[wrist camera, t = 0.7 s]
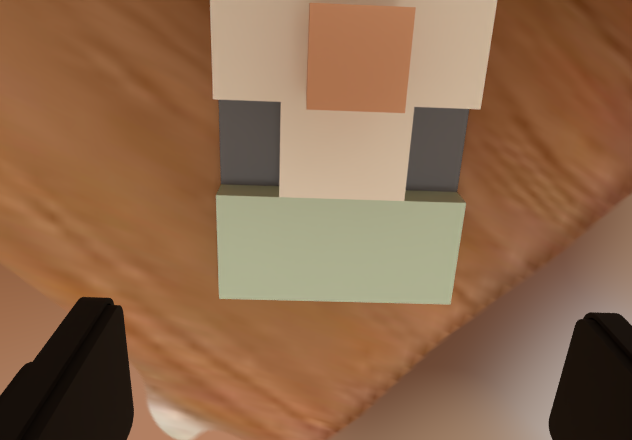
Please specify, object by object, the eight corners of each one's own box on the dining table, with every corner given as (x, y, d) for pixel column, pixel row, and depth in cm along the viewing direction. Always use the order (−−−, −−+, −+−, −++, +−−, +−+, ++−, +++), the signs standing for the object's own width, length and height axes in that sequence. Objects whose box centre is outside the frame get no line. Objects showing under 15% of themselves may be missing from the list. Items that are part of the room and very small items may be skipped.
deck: (216, -19, 32) (209, -21, 29) (484, -7, 32) (498, -8, 30) (224, 281, 39) (219, 298, 37) (441, 286, 39) (450, 304, 37)
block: (309, 3, 30) (310, 2, 25) (398, 7, 30) (415, 7, 25) (306, 94, 32) (306, 109, 27) (390, 97, 32) (405, 113, 27)
